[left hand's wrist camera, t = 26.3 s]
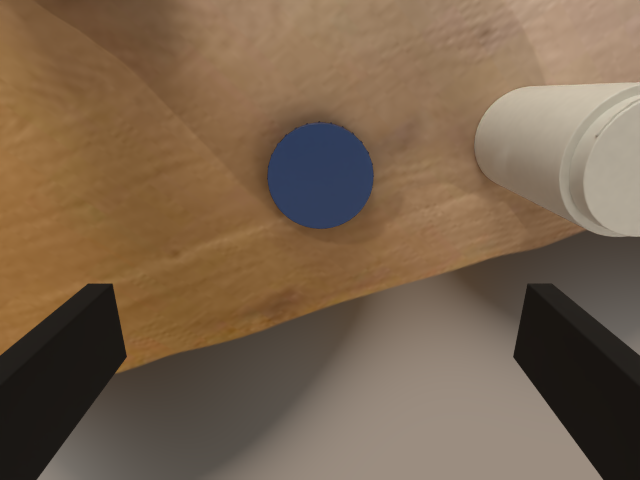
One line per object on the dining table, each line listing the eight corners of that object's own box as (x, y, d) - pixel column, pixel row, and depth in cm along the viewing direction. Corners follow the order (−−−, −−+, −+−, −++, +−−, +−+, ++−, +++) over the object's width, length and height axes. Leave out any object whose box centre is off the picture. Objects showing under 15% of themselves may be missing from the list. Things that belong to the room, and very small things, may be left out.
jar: (595, 124, 36) (780, 145, 22) (525, 205, 38) (649, 272, 24) (521, 64, 34) (668, 43, 20) (453, 153, 37) (539, 191, 22)
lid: (252, 144, 37) (249, 146, 35) (352, 105, 35) (353, 105, 34) (292, 237, 40) (291, 243, 38) (384, 203, 38) (387, 208, 37)
